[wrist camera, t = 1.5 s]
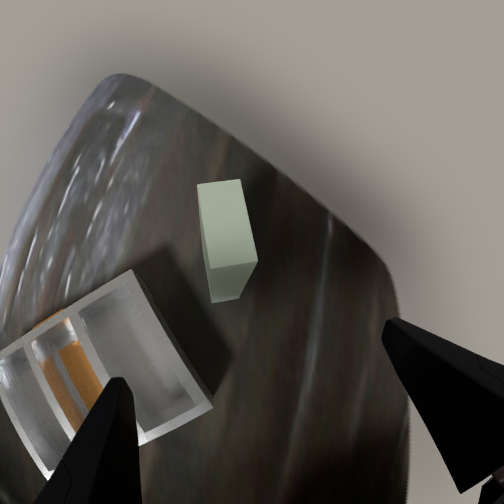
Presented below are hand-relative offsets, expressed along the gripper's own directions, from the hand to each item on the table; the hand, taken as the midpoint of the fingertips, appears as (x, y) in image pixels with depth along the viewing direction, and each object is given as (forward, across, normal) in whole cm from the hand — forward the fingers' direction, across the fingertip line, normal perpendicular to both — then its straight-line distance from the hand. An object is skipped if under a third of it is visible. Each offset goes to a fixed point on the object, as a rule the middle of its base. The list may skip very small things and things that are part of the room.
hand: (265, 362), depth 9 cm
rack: (+8, +11, +10) cm, 17 cm away
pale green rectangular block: (+13, 0, +5) cm, 14 cm away
